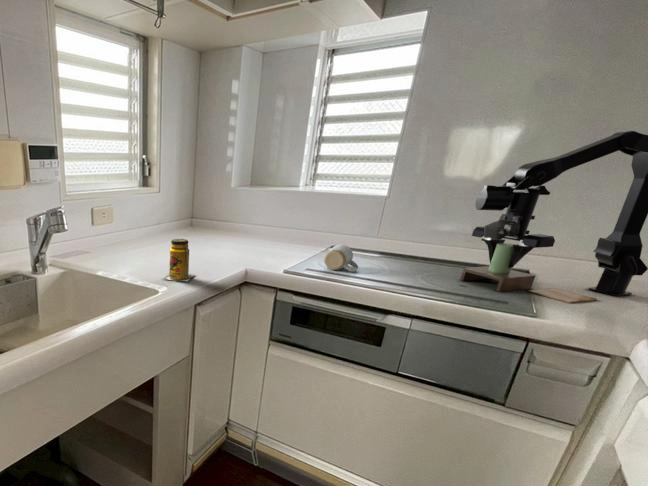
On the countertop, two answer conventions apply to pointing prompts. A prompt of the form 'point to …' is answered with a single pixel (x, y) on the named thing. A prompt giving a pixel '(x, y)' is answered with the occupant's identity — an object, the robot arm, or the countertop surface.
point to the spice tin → (501, 258)
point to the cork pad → (562, 295)
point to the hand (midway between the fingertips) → (500, 265)
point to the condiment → (179, 261)
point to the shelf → (500, 278)
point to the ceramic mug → (340, 258)
